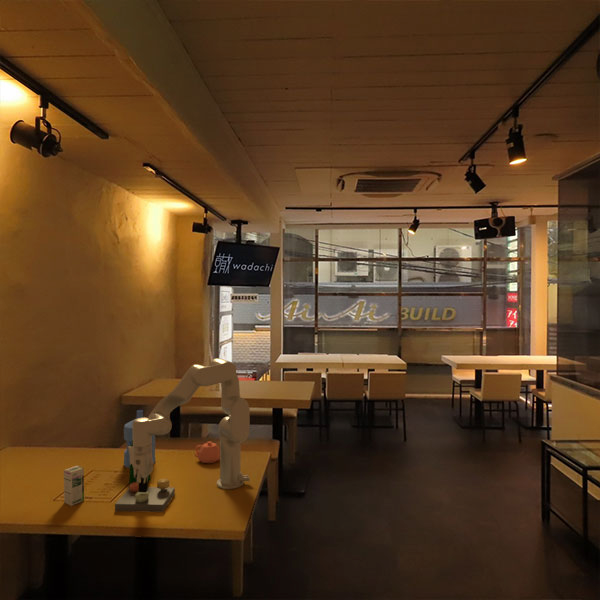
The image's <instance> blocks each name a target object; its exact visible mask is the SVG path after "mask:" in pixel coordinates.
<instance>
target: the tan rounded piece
mask: <svg viewBox="0 0 600 600" xmlns="http://www.w3.org/2000/svg"><path fill="white" fill-rule="evenodd" d="M156 484H157V485H156V487H157V488H158V489H161V492H165V488H168V487H170V479H169V478H165V477H164V478H160V479H158V480H157V481H156Z"/></svg>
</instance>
